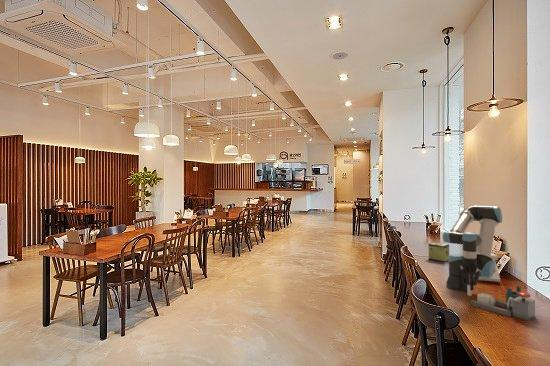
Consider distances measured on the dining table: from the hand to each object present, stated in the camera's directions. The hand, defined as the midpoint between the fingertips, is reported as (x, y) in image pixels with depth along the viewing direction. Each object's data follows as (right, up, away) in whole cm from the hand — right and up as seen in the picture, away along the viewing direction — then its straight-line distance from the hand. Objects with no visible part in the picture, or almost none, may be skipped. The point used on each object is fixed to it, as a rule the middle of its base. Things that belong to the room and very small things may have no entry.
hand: (469, 295), depth 192 cm
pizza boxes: (+41, -4, +46) cm, 62 cm away
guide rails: (+8, -4, -11) cm, 14 cm away
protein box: (+35, -4, +102) cm, 108 cm away
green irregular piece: (+27, -4, -2) cm, 27 cm away
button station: (+15, -3, -21) cm, 26 cm away
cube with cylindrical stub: (+5, -4, -7) cm, 9 cm away
